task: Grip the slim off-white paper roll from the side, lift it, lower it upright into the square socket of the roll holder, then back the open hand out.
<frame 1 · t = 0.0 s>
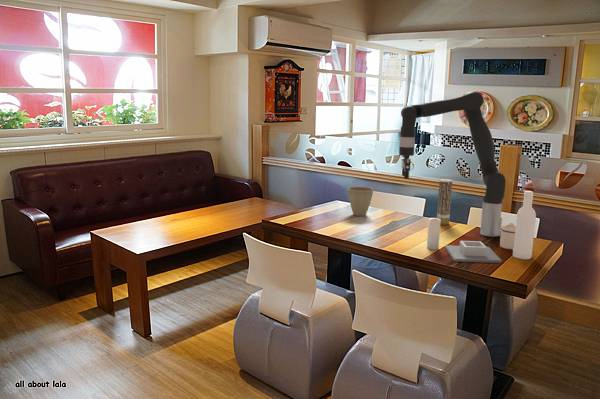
hand: (405, 177, 257), 29 cm above the table, tool pointing down, fingers open, 8 cm apart
plant pot: (359, 215, 300), on the table
bottle: (521, 257, 225), on the table
paper tube: (442, 224, 281), on the table
roll holder: (472, 255, 227), on the table
paper roll: (432, 247, 237), on the table
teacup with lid: (510, 246, 241), on the table
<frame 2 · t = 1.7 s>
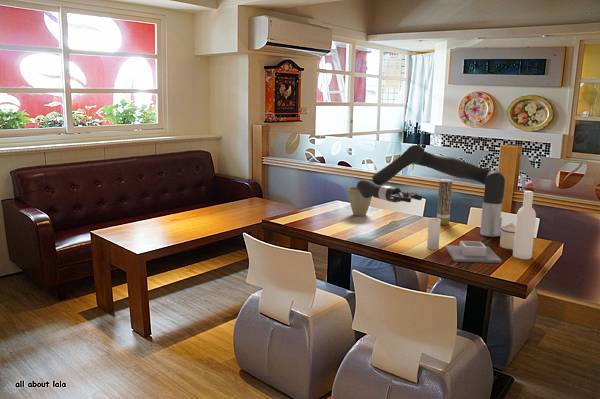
hand: (416, 199, 240), 22 cm above the table, tool horizontal, fingers open, 8 cm apart
nothing on the table moved.
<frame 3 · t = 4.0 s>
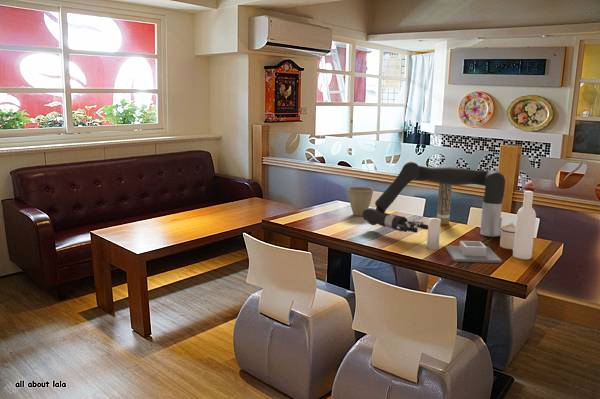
hand: (422, 229, 240), 8 cm above the table, tool horizontal, fingers open, 8 cm apart
nothing on the table moved.
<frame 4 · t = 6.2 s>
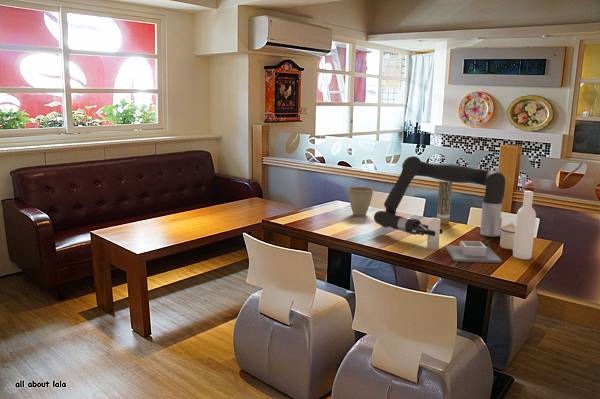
hand: (438, 232, 233), 8 cm above the table, tool horizontal, fingers closed on paper roll, 5 cm apart
paper roll: (432, 247, 236), on the table, touching gripper
everything else where it was.
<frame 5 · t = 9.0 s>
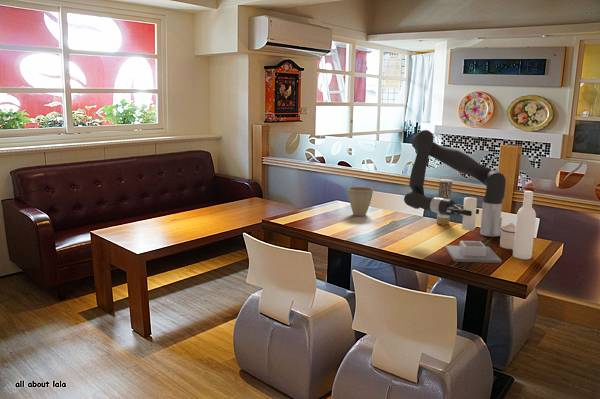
hand: (474, 212, 222), 20 cm above the table, tool horizontal, fingers closed on paper roll, 5 cm apart
paper roll: (468, 228, 226), point 12 cm above the table, touching gripper
everything else where it was.
when the fingers open (10 cm above the table, at t = 12.0 s): paper roll drops 1 cm, resting on roll holder.
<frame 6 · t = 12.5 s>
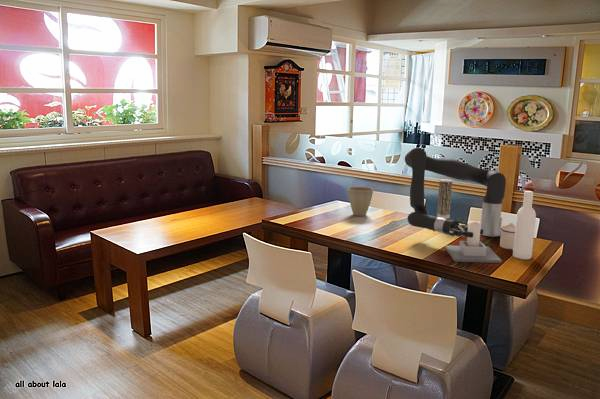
hand: (477, 233, 223), 11 cm above the table, tool horizontal, fingers open, 8 cm apart
paper roll: (472, 252, 226), point 1 cm above the table, touching roll holder
everything else where it was.
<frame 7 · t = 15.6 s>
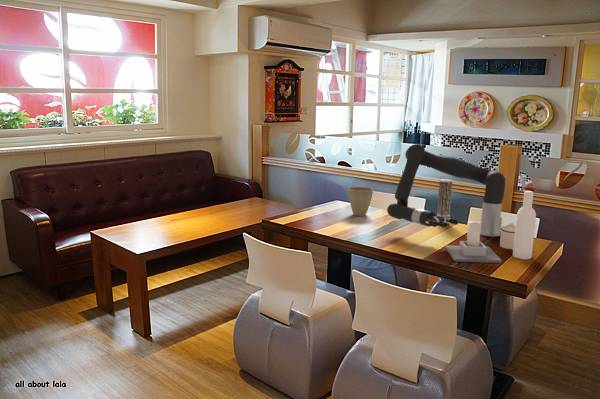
hand: (452, 223, 233), 12 cm above the table, tool horizontal, fingers open, 8 cm apart
nothing on the table moved.
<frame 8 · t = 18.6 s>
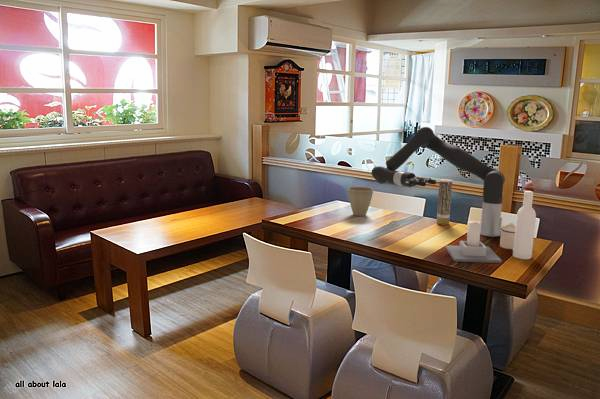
hand: (430, 183, 248), 28 cm above the table, tool horizontal, fingers open, 8 cm apart
nothing on the table moved.
at the end: paper roll 0.1 cm off-centre on the roll holder, point 1.2 cm above the roll holder's base; paper roll tilted 0°; the gripper is holding nothing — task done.
